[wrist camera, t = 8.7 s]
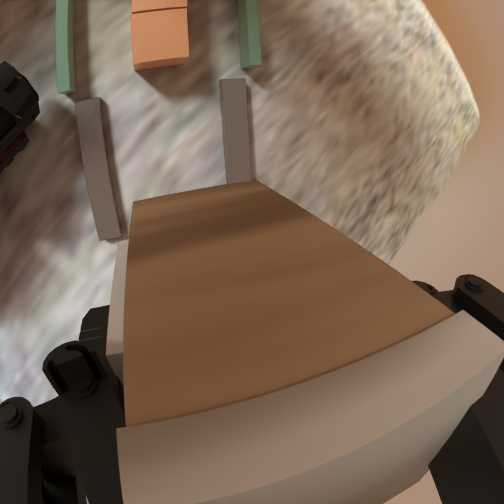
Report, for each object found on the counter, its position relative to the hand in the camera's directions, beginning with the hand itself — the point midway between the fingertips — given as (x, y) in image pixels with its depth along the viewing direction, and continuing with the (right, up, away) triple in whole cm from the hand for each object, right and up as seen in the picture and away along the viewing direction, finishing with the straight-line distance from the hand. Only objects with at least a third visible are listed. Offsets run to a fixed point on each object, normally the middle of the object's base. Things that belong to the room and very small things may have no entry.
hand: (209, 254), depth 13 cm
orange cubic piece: (-6, +17, +8) cm, 20 cm away
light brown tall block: (-1, +1, +2) cm, 2 cm away
